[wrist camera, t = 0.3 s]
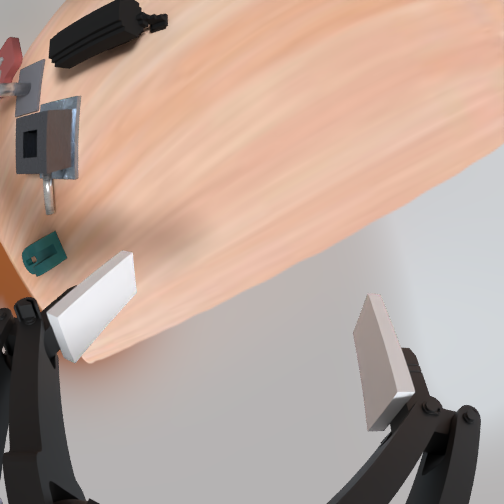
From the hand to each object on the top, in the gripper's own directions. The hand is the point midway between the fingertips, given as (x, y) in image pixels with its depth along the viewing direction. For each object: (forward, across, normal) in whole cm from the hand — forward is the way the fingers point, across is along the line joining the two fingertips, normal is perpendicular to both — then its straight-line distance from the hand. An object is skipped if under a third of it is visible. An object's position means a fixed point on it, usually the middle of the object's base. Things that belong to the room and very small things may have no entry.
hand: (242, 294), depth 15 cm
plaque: (+28, -71, +28) cm, 82 cm away
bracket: (+28, -54, -20) cm, 64 cm away
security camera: (+28, -29, +25) cm, 48 cm away
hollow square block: (+28, -44, +4) cm, 52 cm away
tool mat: (+28, -56, +20) cm, 66 cm away
